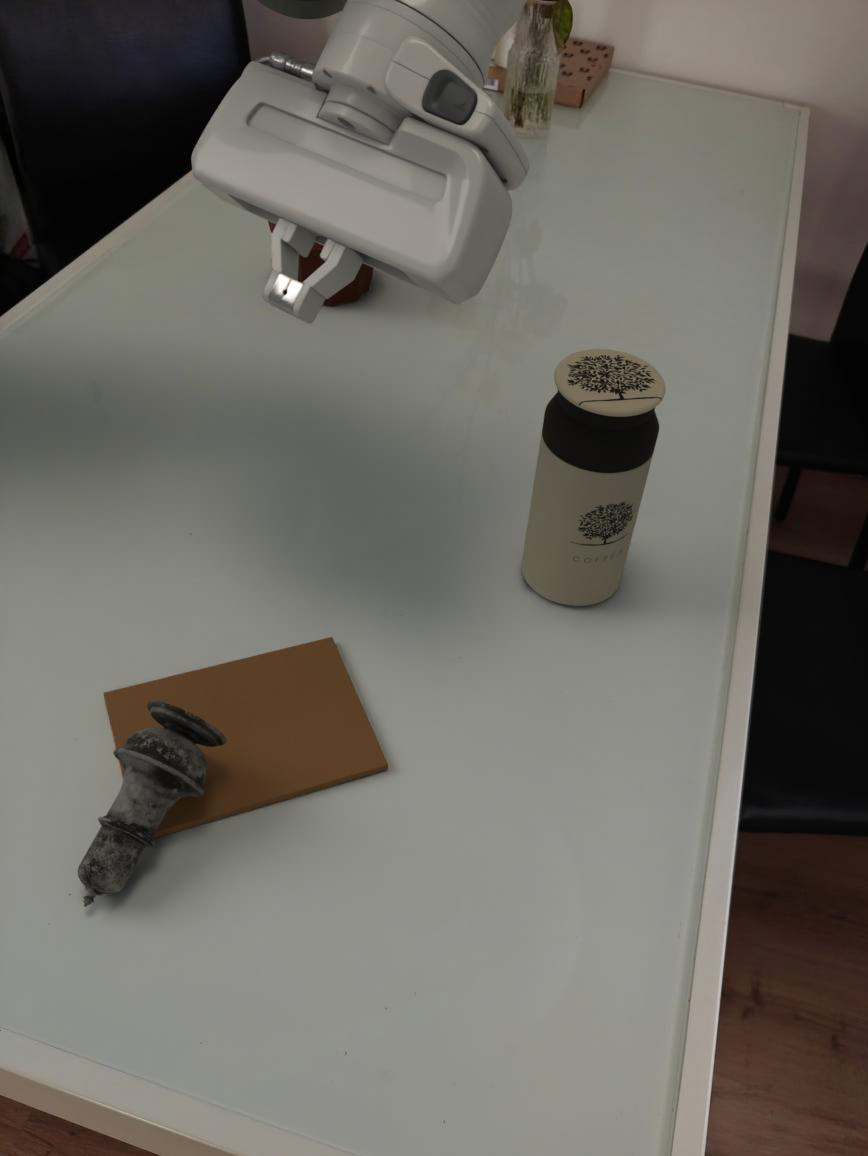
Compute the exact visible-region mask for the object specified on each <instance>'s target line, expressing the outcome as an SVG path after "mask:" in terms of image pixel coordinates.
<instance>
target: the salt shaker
mask: <svg viewBox="0 0 868 1156" xmlns="http://www.w3.org/2000/svg"><path fill="white" fill-rule="evenodd" d="M147 708H148V710H149V711H150V713H151V716H152V718H153V719H154V720H155V721H156V722H158V723H159V724H160V725H162V726H163V727H164V728H157V727H148V728H145V729H142V730H138V731H137V732H136V733H135V734H133V735H132V736H131V737H130V738H128V739H127V740H126V742H125V744H124V745H123V747H122V748H117V749H116V748H115V749H114V750H113V756H114V757H115V758H116V759H117V760H118V762H119V761H120V762H122V765H123V768H124V771H125V775H124V779H123V778H122V779H123V780H122V783H121V787H120V790H119V792H118V793H117V795H116V797H115V799H114V801H113V803H112V805H111V806H110V808H109V809H108V811H107V813H106V814H105V815H104V816H99V817H98V818H97V821H98V822H99V824H100V828H99V830H98V832H97V833H96V835H95V837H94V838H93V840H92V842H91V844H90V845H89V847H88V849H87V851H86V853H85V854H84V856H83V858H82V859H81V862H80V863H79V865H78V867H77V877H78V879H79V881H80V882H81V884H83V886H84V890H85V891H87V894H86V896H83V897H82V898H83V906H84V907H85V908H86V907H88V906H90V905H92V903H95V900H94V899H95V898H96V897H97V896H99V897H101V896H103V895H114V894H115V895H116V894H118V893H119V892H121V891H122V890H123V889H124V887H125V886H126V885H127V883H128V881H129V879H130V877H131V875H132V874H133V872H134V870H135V868H136V866H137V864H138V862H139V861H140V859H141V857H142V855H143V853H144V851H145V850H146V848H150V847H154V846H155V845H156V843H155V841H154V838H153V836H154V834H155V832H156V830H157V828H158V827H159V825H160V823H161V821H162V819H163V817H164V816H165V814H166V812H167V811H168V810H169V809H170V808H171V807H172V805H173V804H174V803H175V802H176V801H177V800H178V799H180V798H183V797H187V796H193V797H201V796H203V795H204V790H203V788H202V786H203V784H204V782H205V780H206V777H207V768H208V765H207V761H206V758H205V754H204V753H203V751H202V750H201V749H200V748H199V747H198V746H197V745H196V744H200V745H203V746H208V747H215V746H222V745H224V744H226V742H227V740H226V738H225V736H224V735H223V734H222V733H221V732H220V731H219V730H218V729H216V728H215V727H213V726H212V725H211V724H209V723H208V722H206V721H204V720H203V719H201V718H199V717H197V716H195V715H194V714H192V713H190V712H187V711H185V710H183V709H181V708H178V707H176V706H173V705H171V704H167V703H164V702H160V701H149V702H148V703H147ZM120 762H119V763H120Z"/></svg>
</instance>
